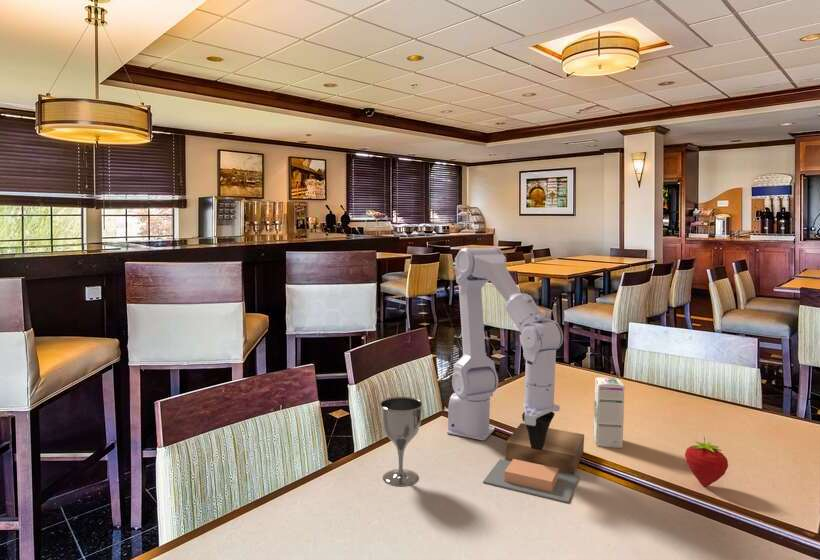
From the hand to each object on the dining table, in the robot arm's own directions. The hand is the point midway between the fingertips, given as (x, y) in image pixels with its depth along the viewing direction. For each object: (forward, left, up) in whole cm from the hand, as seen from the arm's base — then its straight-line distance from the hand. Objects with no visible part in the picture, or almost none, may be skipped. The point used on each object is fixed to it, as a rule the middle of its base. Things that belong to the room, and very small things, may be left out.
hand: (537, 448), depth 106 cm
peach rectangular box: (0, -4, -3) cm, 5 cm away
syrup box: (+11, +22, -5) cm, 25 cm away
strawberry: (+30, +9, -5) cm, 32 cm away
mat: (0, -4, -5) cm, 6 cm away
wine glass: (-23, -15, -5) cm, 28 cm away
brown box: (0, +8, -5) cm, 9 cm away
